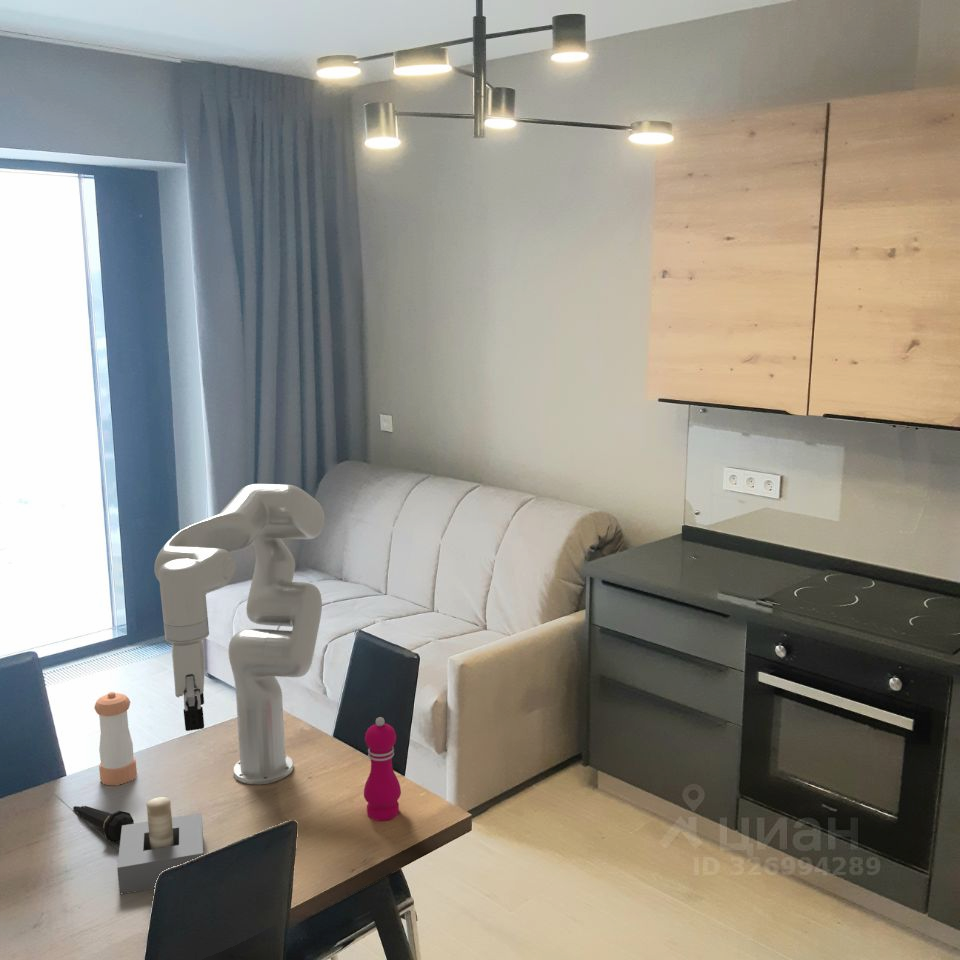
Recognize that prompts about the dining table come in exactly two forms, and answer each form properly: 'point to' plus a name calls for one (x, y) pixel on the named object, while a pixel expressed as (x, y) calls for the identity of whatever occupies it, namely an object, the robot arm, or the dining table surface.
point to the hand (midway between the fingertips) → (195, 716)
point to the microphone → (106, 821)
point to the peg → (160, 823)
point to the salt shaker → (115, 740)
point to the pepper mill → (381, 773)
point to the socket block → (156, 852)
